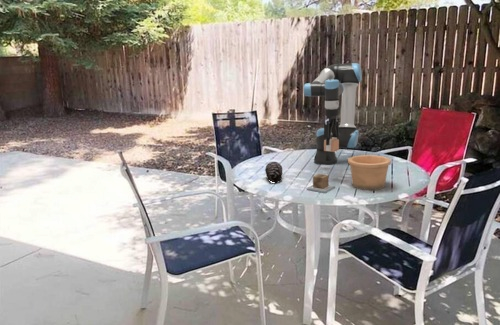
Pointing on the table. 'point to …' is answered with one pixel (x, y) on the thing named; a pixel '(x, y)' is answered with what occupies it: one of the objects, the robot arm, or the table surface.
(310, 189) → the pad
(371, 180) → the pottery
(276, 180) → the pine cone
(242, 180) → the table surface
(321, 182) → the walnut cube
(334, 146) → the terracotta cube
